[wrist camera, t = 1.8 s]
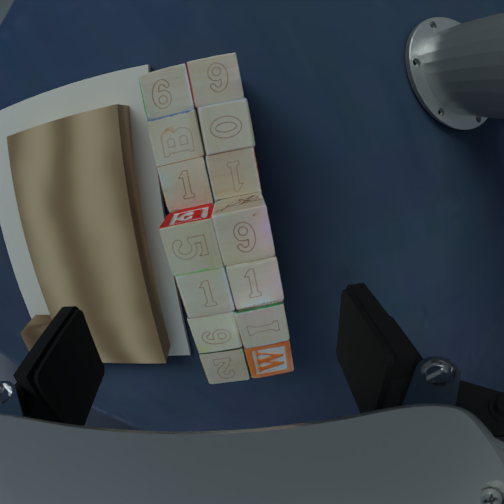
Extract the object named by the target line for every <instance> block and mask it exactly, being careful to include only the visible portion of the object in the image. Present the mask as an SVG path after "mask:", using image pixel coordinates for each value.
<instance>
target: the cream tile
mask: <svg viewBox="0 0 504 504" xmlns="http://www.w3.org/2000/svg"><path fill="white" fill-rule="evenodd" d="M150 72H151V68H150V65H143V66H138V67H133V68H129V69H124V70H120V71H116V72H111V73H107V74H104V75H100V76H96V77H92V78H89V79H85V80H82V81H78V82H75V83H72V84H69V85H66V86H62V87H59V88H56V89H54V90H51V91H48V92H45V93H42V94H39V95H37V96H34V97H32V98H29V99H26V100H24V101H21V102H19V103H16V104H14V105H12V106H9V107H7V108H5V109H3V110H0V224H1V228H2V232H3V236H4V240H5V243H6V247H7V250H8V254H9V257H10V260H11V264H12V267H13V270H14V273H15V276H16V279H17V282H18V285H19V287H20V290H21V293H22V296H23V298H24V301H25V303H26V306H27V309H28V311H29V313H30V316H31V318H33V317H34V316H35V315H50V313H49V311H48V308H47V305H46V303H45V300H44V297H43V294H42V292H41V289H40V286H39V283H38V280H37V277H36V274H35V271H34V267H33V264H32V261H31V258H30V254H29V251H28V247H27V243H26V240H25V236H24V232H23V228H22V224H21V220H20V215H19V211H18V206H17V201H16V196H15V191H14V186H13V180H12V174H11V168H10V161H9V153H8V145H7V136H10V135H13V134H15V133H18V132H21V131H24V130H26V129H29V128H32V127H35V126H38V125H41V124H44V123H48V122H51V121H54V120H57V119H61V118H64V117H68V116H71V115H75V114H78V113H82V112H86V111H90V110H94V109H98V108H102V107H106V106H111V105H115V104H120V105H127V106H129V113H130V124H131V134H132V143H133V152H134V160H135V168H136V176H137V183H138V190H139V197H140V203H141V209H142V215H143V221H144V227H145V233H146V238H147V244H148V249H149V254H150V259H151V264H152V269H153V274H154V279H155V283H156V288H157V292H158V297H159V301H160V305H161V310H162V314H163V318H164V322H165V326H166V330H167V334H168V338H169V341H170V345H171V346H170V350H169V354H168V356H176V355H190V354H191V348H190V344H189V339H188V335H187V330H186V325H185V321H184V316H183V311H182V306H181V301H180V296H179V291H178V286H177V282H176V279H175V276H174V275H173V274H172V271H171V268H170V265H169V261H168V258H167V255H166V251H165V248H164V245H163V242H162V239H161V235H160V232H159V227H160V226H161V224H162V222H163V221H164V220H165V218H166V215H165V208H164V201H163V193H162V187H161V183H160V179H159V175H158V170H157V165H156V161H155V157H154V153H153V148H152V144H151V140H150V135H149V131H148V126H147V121H148V119H147V116H146V112H145V109H144V104H143V98H142V94H141V88H140V83H139V76H140V75H143V74H146V73H150Z"/></svg>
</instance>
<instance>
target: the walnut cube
mask: <svg viewBox="0 0 504 504" xmlns="http://www.w3.org/2000/svg"><path fill="white" fill-rule="evenodd" d="M51 321H52V318H51V316H50V315H35V316H34V317H33V318H32V320H31V321H30V322H29V323H28V324H27V326H26V327H25V328H24V329H23V331H22V332H21V335H22V337H23V340H24V342H25V344H26V346H27V348H28V350H29V351H30V350H31V349H32V347H33V346H34V344H35V343H36V341H37V340H38V339H39V337H40V336H41V335H42V333H43V332H44V330H45V329H46V328H47V326H48V325H49V324H50V322H51Z"/></svg>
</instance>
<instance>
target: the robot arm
mask: <svg viewBox="0 0 504 504" xmlns="http://www.w3.org/2000/svg"><path fill="white" fill-rule="evenodd" d="M405 61H406V69H407V74H408V78H409V81H410V83H411V86H412V89H413V91H414V93H415V95H416V97H417V99H418V100H419V102H420V103H421V104H422V106H423V107H424V109H425V110H426V111H427V112H428V113H429V114H430V115H431V116H432V117H433V118H434V119H436V120H437V121H438V122H440V123H441V124H443V125H445V126H447V127H450V128H454V129H460V130H469V129H474V128H476V127H478V126H480V125H481V124H482V123H484V122H485V121H486V119H487V118H496V119H504V13H500V14H496V15H491V16H487V17H484V18H480V19H476V20H473V21H469V22H466V23H462V24H461V23H459V22H457V21H455V20H452V19H449V18H445V17H433V18H430V19H427V20H425V21H423V22H421V23H419V24H418V25H417V26H416V27H415V28H414V29H413V30H412V32H411V33H410V35H409V38H408V41H407V44H406V51H405ZM413 63H414V64H413ZM336 352H337V358H338V361H339V363H340V366H341V368H342V370H343V373H344V375H345V377H346V380H347V382H348V384H349V387H350V389H351V391H352V394H353V396H354V399H355V401H356V403H357V406H358V408H359V411H360V413H359V414H354V415H348V416H343V417H337V418H332V419H326V420H319V421H312V422H306V423H299V424H292V425H284V426H275V427H266V428H255V429H242V430H226V431H200V432H162V431H136V430H121V429H108V428H98V427H88V426H84V425H85V422H86V419H87V417H88V414H89V411H90V409H91V406H92V403H93V401H94V398H95V396H96V393H97V391H98V388H99V386H100V383H101V381H102V378H103V376H104V365H103V362H102V360H101V358H100V355H99V353H98V350H97V348H96V345H95V343H94V340H93V338H92V335H91V332H90V330H89V327H88V324H87V322H86V319H85V316H84V313H83V311H82V310H79V308H78V307H76V306H65V307H62V308H61V309H60V310H59V312H58V313H57V314H56V316H55V317H54V318H53V320H52V321H51V322H50V324H49V325H48V326H47V328H46V329H45V330H44V332H43V333H42V335H41V336H40V337H39V339H38V340H37V341H36V343H35V344H34V346H33V347H32V349H31V350H30V351H29V353H28V354H27V356H26V357H25V359H24V360H23V362H22V363H21V365H20V366H19V368H18V369H17V371H16V372H15V374H14V377H15V379H16V381H17V383H16V384H15V385H14V383H12V382H10V381H7V380H6V381H0V504H504V393H503V392H499V391H496V390H492V389H488V388H485V387H481V386H478V385H474V384H471V383H468V382H464V381H461V380H460V371H459V369H458V367H457V366H456V365H455V364H454V363H453V362H452V361H450V360H448V359H446V358H443V357H436V356H434V357H427V358H425V359H423V358H422V357H421V355H420V354H419V352H418V351H417V350H416V348H415V347H414V346H413V344H412V343H411V342H410V340H409V339H408V337H407V336H406V335H405V333H404V332H403V331H402V329H401V328H400V327H399V325H398V324H397V323H396V321H395V320H394V319H393V318H392V317H391V316H389V315H388V313H387V312H386V311H385V310H384V308H383V307H382V306H381V304H380V303H379V302H378V300H377V299H376V298H375V297H374V295H373V294H372V293H371V291H370V290H369V289H368V288H367V286H366V285H365V284H364V283H360V284H352V285H348V286H347V288H346V289H345V290H342V296H341V308H340V320H339V330H338V340H337V350H336Z"/></svg>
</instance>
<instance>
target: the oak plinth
mask: <svg viewBox="0 0 504 504" xmlns="http://www.w3.org/2000/svg"><path fill="white" fill-rule="evenodd" d="M7 145H8V153H9V161H10V168H11V174H12V180H13V186H14V191H15V196H16V201H17V206H18V211H19V215H20V220H21V224H22V228H23V232H24V236H25V240H26V243H27V247H28V251H29V254H30V258H31V261H32V264H33V267H34V271H35V274H36V277H37V280H38V283H39V286H40V289H41V292H42V294H43V297H44V300H45V303H46V305H47V308H48V311H49V313H50V316H51V318H52V320H53V318H54V317H55V316H56V314H57V313H58V312H59V310H60V309H61V308H62V307H65V306H76V307H78V308H79V310H82V311H83V313H84V316H85V319H86V322H87V324H88V327H89V330H90V332H91V335H92V338H93V340H94V343H95V345H96V348H97V350H98V353H99V355H100V358H101V360H102V362H103V363H167V358H168V354H169V350H170V346H171V345H170V341H169V338H168V334H167V330H166V326H165V322H164V318H163V314H162V310H161V305H160V301H159V297H158V292H157V288H156V283H155V279H154V274H153V269H152V264H151V259H150V254H149V249H148V244H147V238H146V233H145V227H144V221H143V215H142V209H141V203H140V197H139V190H138V183H137V176H136V168H135V160H134V152H133V143H132V134H131V124H130V113H129V106H127V105H120V104H115V105H111V106H106V107H102V108H98V109H94V110H90V111H86V112H82V113H78V114H75V115H71V116H68V117H64V118H61V119H57V120H54V121H51V122H48V123H44V124H41V125H38V126H35V127H32V128H29V129H26V130H24V131H21V132H18V133H15V134H13V135H10V136H7Z"/></svg>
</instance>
